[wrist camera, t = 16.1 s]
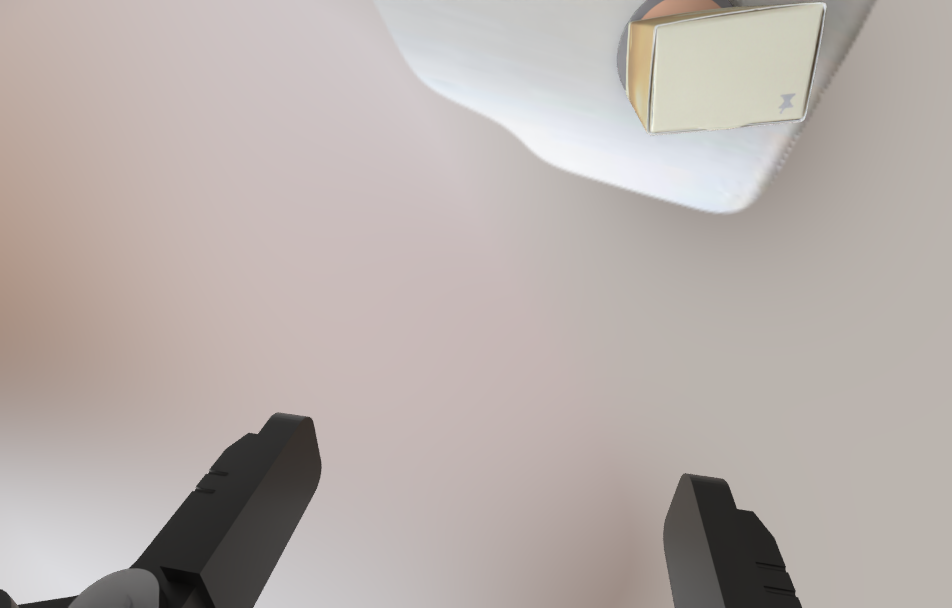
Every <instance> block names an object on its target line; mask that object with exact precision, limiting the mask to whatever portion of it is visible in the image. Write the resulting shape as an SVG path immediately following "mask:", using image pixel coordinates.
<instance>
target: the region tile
mask: <svg viewBox="0 0 952 608" xmlns="http://www.w3.org/2000/svg"><path fill="white" fill-rule="evenodd" d="M729 7H733V6H732V5H731V3H730V2H729V0H647V1H646V2H645V3H643V4H642V5H641V6H640V7H639V8H638V9H637V10H636V12H635V13H634V14H633V16H632V17H631V18H630V20H629V22H628V23H627V25H626V27H625V29H624V31H623V33H622V36H621V39H620V42H619V47H618V53H617V68H618V74H619V77H620V81H621V83H622V85H623V87H624V89H625V91H626V62H627V41H628V25H629V23H630V22H632V21H637V20H643V19H649V18H654V17H660V16H666V15H671V14H678V13H685V12H693V11H701V10H709V9H719V8H729Z"/></svg>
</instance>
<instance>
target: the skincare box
mask: <svg viewBox="0 0 952 608" xmlns="http://www.w3.org/2000/svg"><path fill="white" fill-rule="evenodd" d="M826 9H827V4H826V3H825V2H807V3H795V4H784V5H766V6H747V7H729V8H719V9H709V10H701V11H693V12H685V13H678V14H671V15H666V16H660V17H654V18H649V19H643V20H637V21H632V22H630V23H629V25H628V41H627V62H626V95H627V97H628V99H629V100H630V102H631V104H632V106H633V108H634V110H635V112H636V113H637V115H638V117H639V119H640V121H641V122H642V124H643V126H644V128H645V130H646V132H647V134H649V135H652V136H654V135H665V134H678V133H689V132H700V131H713V130H723V129H734V128H743V127H753V126H764V125H775V124H784V123H795V122H802V121H804V120H805V117H806V113H807V108H808V103H809V99H810V95H811V89H812V85H813V81H814V76H815V71H816V66H817V61H818V57H819V51H820V46H821V41H822V35H823V29H824V21H825V15H826Z"/></svg>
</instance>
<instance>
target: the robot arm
mask: <svg viewBox="0 0 952 608" xmlns="http://www.w3.org/2000/svg"><path fill="white" fill-rule="evenodd" d="M320 475H321V459H320V454H319V448H318V443H317V439H316V434H315V428H314V424H313V420H312V419H311V418H310V417H306V416H299V415H292V414H285V413H275V414H274V415H272V416H271V418H270V419H269V420H268V421H267V423H266V424H265V425H264V427H263V428H262V429H261V431H260V432H259V433H258V434H253V433H248V434H246V435H245V436H243V437H242V438H241V439H239V440H238V441H236V442H235V443H234V444H232V445H231V446H229V447H228V448H227V449H226V450H225V451H224V452H223V453H222V455H221V456H220V457H219V458H218V460H217V461H216V462H215V463H214V465H213V466H212V467H211V469H210V471H209V473H208V474H206V475H205V476H204V477H203V478H202V480H201V481H200V482H199V483H198V485H197V486H196V489H195V491H192V492H191V493H190V495H189V496H188V497H187V499H186V500H185V501H184V502H183V503H182V505H181V506H180V507H179V509H178V510H177V511H176V512H175V514H174V515H173V516H172V517H171V519H170V520H169V521H168V522H167V524H166V525H165V526H164V527H163V529H162V530H161V531H160V533H159V534H158V535H157V536H156V537H155V539H154V540H153V541H152V542H151V544H150V545H149V546H148V547H147V549H146V550H145V551H144V553H143V554H142V555H141V556H140V557H139V559H138V560H137V561H136V562H135V563H134V564H133V565H132V566H131V567H130V568H129V569H125V570H121V571H117V572H114V573H112V574H109V575H107V576H105V577H103V578H101V579H100V580H98V581H96V582H95V583H93V584H92V585H91V586H89V587H88V588H87V589H85V590H84V591H83V592H82V593H81V594H80V595H77V596H73V597H67V598H60V599H54V600H48V601H41V602H35V603H28V604H21V605H17V604H16V603H15V602H14V601H13V599H12V598H11V597H10V596H9V595H8V594H7V593H6V592H5V591H3V590H1V589H0V608H253V607H254V605H255V603H256V601H257V599H258V597H259V596H260V594H261V592H262V590H263V588H264V586H265V584H266V583H267V580H268V579H269V577H270V575H271V573H272V571H273V569H274V568H275V566H276V564H277V562H278V560H279V558H280V556H281V555H282V552H283V551H284V549H285V547H286V545H287V543H288V541H289V540H290V538H291V536H292V534H293V532H294V530H295V528H296V526H297V525H298V523H299V521H300V519H301V517H302V515H303V513H304V511H305V510H306V508H307V506H308V504H309V502H310V500H311V498H312V497H313V495H314V493H315V491H316V489H317V486H318V483H319V480H320ZM663 535H664V536H663V537H664V538H663V540H664V551H665V556H666V562H667V568H668V573H669V579H670V584H671V590H672V595H673V601H674V606H675V608H802V606H801V604H800V601H799V599H798V597H796V596H795V589H794V586H793V584H792V581H791V579H790V576H789V574H788V573H787V572H786V570H785V567H786V566H785V564H784V561H783V559H782V556H781V554H780V551H779V549H778V546H777V544H776V541H775V539H774V537H773V536H772V534H771V533H770V532H769V531H768V530H767V528H766V527H765V526H764V525H763V523H762V522H761V521H760V520H759V518H758V517H757V516H756V515H755V513H754V512H752V511H746V510H739V509H737V508H736V505H735V502H734V499H733V496H732V494H731V490H730V488H729V485H728V484H727V482H726V481H725V480H724V479H720V478H714V477H707V476H699V475H693V474H686V473H685V474H683V475H682V476H681V478H680V481H679V484H678V486H677V489H676V492H675V494H674V497H673V500H672V502H671V505H670V508H669V510H668V513H667V516H666V519H665V523H664V533H663Z"/></svg>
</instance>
